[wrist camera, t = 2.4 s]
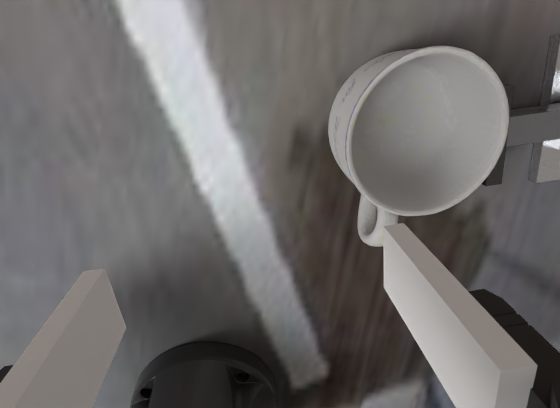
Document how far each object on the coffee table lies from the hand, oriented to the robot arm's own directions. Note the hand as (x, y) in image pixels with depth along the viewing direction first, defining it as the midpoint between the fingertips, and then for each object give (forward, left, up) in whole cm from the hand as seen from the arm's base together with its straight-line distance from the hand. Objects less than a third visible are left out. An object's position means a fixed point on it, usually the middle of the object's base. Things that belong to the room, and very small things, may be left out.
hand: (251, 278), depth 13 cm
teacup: (+11, 0, -18) cm, 21 cm away
